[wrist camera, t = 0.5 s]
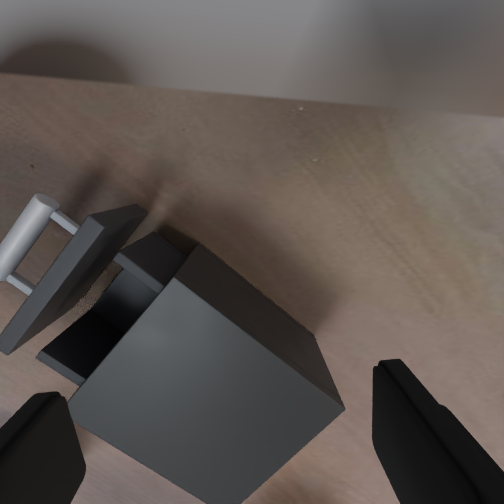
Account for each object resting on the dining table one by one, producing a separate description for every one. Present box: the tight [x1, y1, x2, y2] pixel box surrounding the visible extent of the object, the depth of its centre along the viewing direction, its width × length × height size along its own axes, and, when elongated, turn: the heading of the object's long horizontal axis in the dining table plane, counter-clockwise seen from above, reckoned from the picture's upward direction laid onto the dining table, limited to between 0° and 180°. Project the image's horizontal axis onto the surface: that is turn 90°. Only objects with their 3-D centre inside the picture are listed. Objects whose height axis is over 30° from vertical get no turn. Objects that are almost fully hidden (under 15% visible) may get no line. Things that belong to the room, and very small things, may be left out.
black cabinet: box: [67, 242, 345, 504], centre depth 25 cm, size 15×13×10 cm
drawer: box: [0, 193, 187, 386], centre depth 23 cm, size 18×12×8 cm, turn 49°
